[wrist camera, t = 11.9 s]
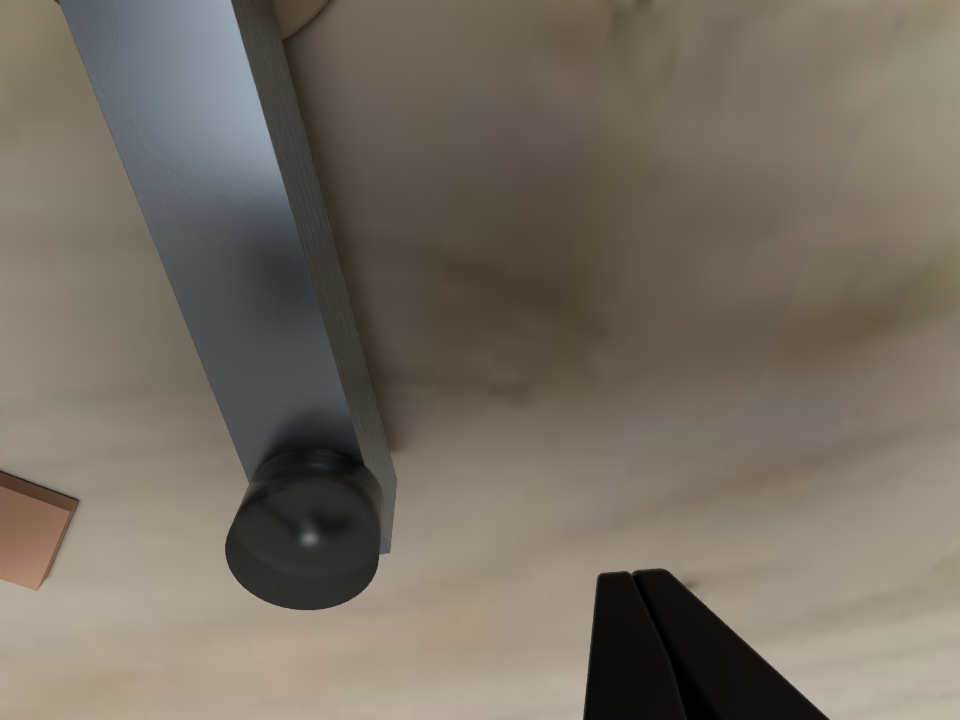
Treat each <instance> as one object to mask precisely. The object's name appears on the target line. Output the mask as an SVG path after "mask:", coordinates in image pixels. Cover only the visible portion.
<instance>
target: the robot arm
mask: <svg viewBox="0 0 960 720" xmlns="http://www.w3.org/2000/svg"><path fill="white" fill-rule="evenodd" d="M583 720H830V719H829V718H827V717H826V716H825V715H824V714H823V713H822V712H821V711H820V710H819V709H818V708H817V707H815V706H814V705H813V704H812V703H811V702H810V701H809V700H808V699H807V698H806V697H805V696H804V695H802V694H801V693H800V692H799V691H798V690H797V689H796V688H795V687H794V686H793V685H792V684H790V683H789V682H788V681H787V680H786V679H785V678H784V677H783V676H782V675H781V674H780V673H779V672H777V671H776V670H775V669H774V668H773V667H772V666H771V665H770V664H769V663H768V662H767V661H765V660H764V659H763V658H762V657H761V656H760V655H759V654H758V653H757V652H756V651H755V650H754V649H752V648H751V647H750V646H749V645H748V644H747V643H746V642H745V641H744V640H743V639H742V638H741V637H739V636H738V635H737V634H736V633H735V632H734V631H733V630H732V629H731V628H730V627H729V626H727V625H726V624H725V623H724V622H723V621H722V620H721V619H720V618H719V617H718V616H717V615H716V614H714V613H713V612H712V611H711V610H710V609H709V608H708V607H707V606H706V605H705V604H704V603H702V602H701V601H700V600H699V599H698V598H697V597H696V596H695V595H694V594H693V593H692V592H691V591H689V590H688V589H687V588H686V587H685V586H684V585H683V584H682V583H681V582H680V581H679V580H677V579H676V578H675V577H674V576H673V575H672V574H671V573H670V572H669V571H667V570H665V569H661V568H660V569H646V570H636V571H634V572H633V573H632V574H630V573H629V572H627V571H621V572H608V573H601V574H599V575H598V577H597V585H596V595H595V605H594V615H593V625H592V635H591V645H590V655H589V665H588V675H587V685H586V695H585V705H584V715H583Z"/></svg>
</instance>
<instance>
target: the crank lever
mask: <svg viewBox="0 0 960 720" xmlns="http://www.w3.org/2000/svg"><path fill="white" fill-rule="evenodd" d="M59 2H60V5H61V7H62V10H63V12H64V15H65V17H66V20H67V22H68V25H69V28H70V30H71V33H72V35H73V38H74V40H75V43H76V45H77V48H78V50H79V53H80V55H81V58H82V60H83V63H84V65H85V68H86V71H87V73H88V76H89V78H90V81H91V83H92V86H93V88H94V91H95V93H96V96H97V98H98V101H99V103H100V106H101V109H102V111H103V114H104V116H105V119H106V121H107V124H108V126H109V129H110V131H111V134H112V136H113V139H114V141H115V144H116V147H117V149H118V152H119V154H120V157H121V159H122V162H123V164H124V167H125V169H126V172H127V174H128V177H129V179H130V182H131V185H132V187H133V190H134V192H135V195H136V197H137V200H138V202H139V205H140V207H141V210H142V212H143V215H144V217H145V220H146V222H147V225H148V228H149V230H150V233H151V235H152V238H153V240H154V243H155V245H156V248H157V250H158V253H159V255H160V258H161V260H162V263H163V266H164V268H165V271H166V273H167V276H168V278H169V281H170V283H171V286H172V288H173V291H174V293H175V296H176V298H177V301H178V304H179V306H180V309H181V311H182V314H183V316H184V319H185V321H186V324H187V326H188V329H189V331H190V334H191V336H192V339H193V342H194V344H195V347H196V349H197V352H198V354H199V357H200V359H201V362H202V364H203V367H204V369H205V372H206V374H207V377H208V379H209V382H210V385H211V387H212V390H213V392H214V395H215V397H216V400H217V402H218V405H219V407H220V410H221V412H222V415H223V417H224V420H225V423H226V425H227V428H228V430H229V433H230V435H231V438H232V440H233V443H234V445H235V448H236V450H237V453H238V455H239V458H240V461H241V463H242V466H243V468H244V471H245V473H246V476H247V478H248V481H249V483H250V484H249V487H248V489H247V491H246V493H245V496H244V498H243V500H242V503H241V505H240V507H239V510H238V512H237V514H236V516H235V519H234V521H233V523H232V526H231V528H230V530H229V533H228V536H227V539H226V544H225V554H226V559H227V563H228V565H229V568H230V570H231V572H232V573H233V575H234V576H235V578H236V579H237V581H238V582H239V583H240V584H241V585H242V586H243V587H244V588H245V589H247V590H248V591H249V592H250V593H252V594H253V595H255V596H257V597H258V598H260V599H262V600H264V601H266V602H269V603H271V604H274V605H277V606H280V607H284V608H290V609H296V610H318V609H325V608H330V607H334V606H337V605H340V604H342V603H345V602H347V601H349V600H351V599H352V598H354V597H356V596H357V595H358V594H360V593H361V592H362V591H363V590H364V589H365V588H366V587H367V586H368V585H369V583H370V582H371V581H372V579H373V577H374V575H375V573H376V570H377V567H378V560H379V554H386V553H390V547H391V537H392V527H393V517H394V507H395V497H396V487H397V478H396V474H395V470H394V466H393V462H392V459H391V455H390V451H389V447H388V443H387V440H386V436H385V432H384V428H383V424H382V421H381V417H380V413H379V409H378V405H377V402H376V398H375V394H374V390H373V386H372V383H371V379H370V375H369V371H368V367H367V364H366V360H365V356H364V352H363V348H362V345H361V341H360V337H359V333H358V329H357V326H356V322H355V318H354V314H353V310H352V307H351V303H350V299H349V295H348V291H347V288H346V284H345V280H344V276H343V272H342V269H341V265H340V261H339V257H338V253H337V250H336V246H335V242H334V238H333V234H332V231H331V227H330V223H329V219H328V215H327V212H326V208H325V204H324V200H323V196H322V193H321V189H320V185H319V181H318V177H317V174H316V170H315V166H314V162H313V158H312V155H311V151H310V147H309V143H308V139H307V136H306V132H305V128H304V124H303V120H302V117H301V113H300V109H299V105H298V101H297V98H296V94H295V90H294V86H293V82H292V79H291V75H290V71H289V67H288V63H287V60H286V56H285V52H284V48H283V44H282V41H281V37H280V33H279V29H278V25H277V22H276V18H275V14H274V10H273V6H272V3H271V0H59Z"/></svg>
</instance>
